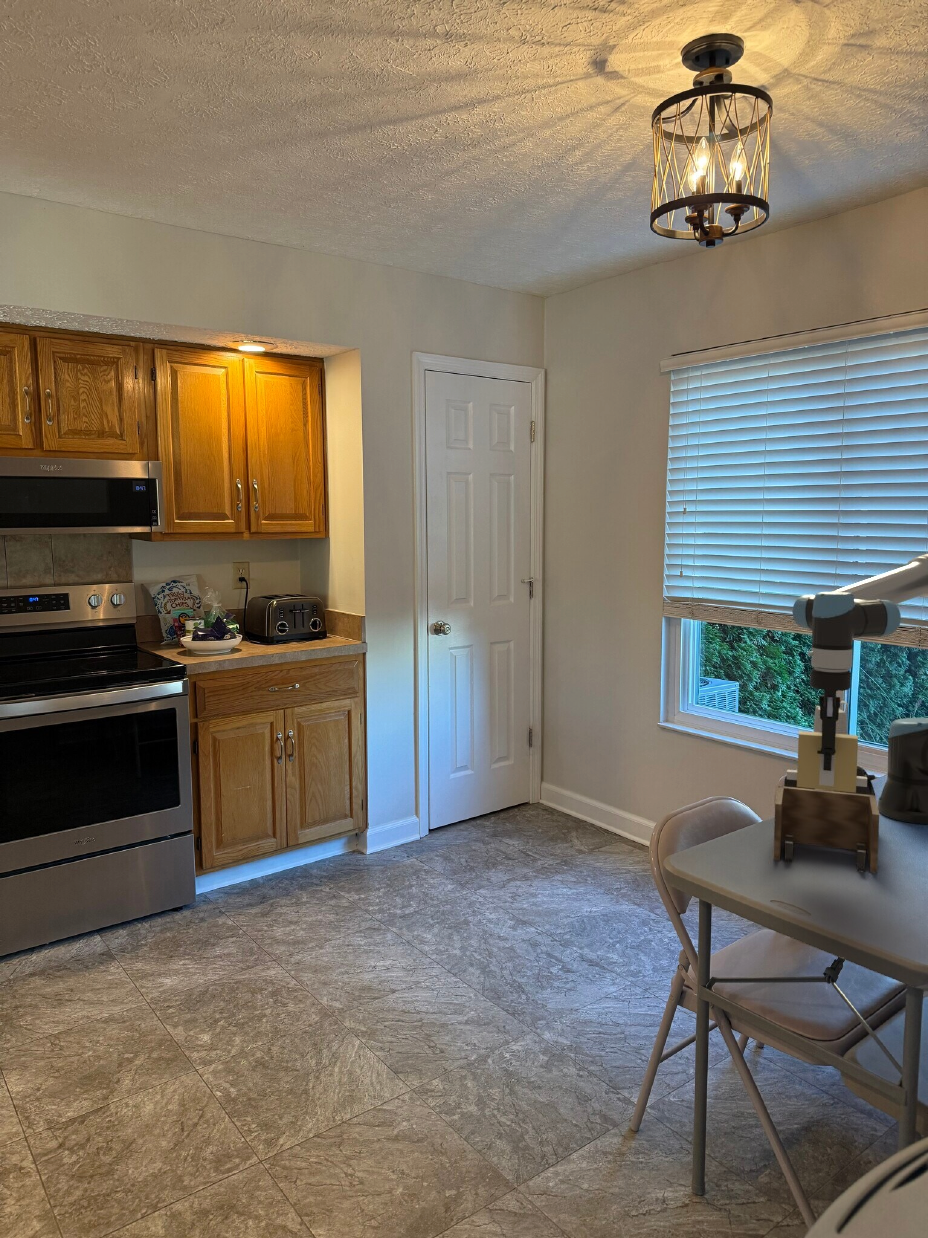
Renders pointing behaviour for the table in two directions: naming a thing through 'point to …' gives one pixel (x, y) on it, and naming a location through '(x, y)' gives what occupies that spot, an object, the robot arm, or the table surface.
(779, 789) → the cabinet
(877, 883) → the table surface
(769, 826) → the table surface
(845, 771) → the yellow rectangular block
